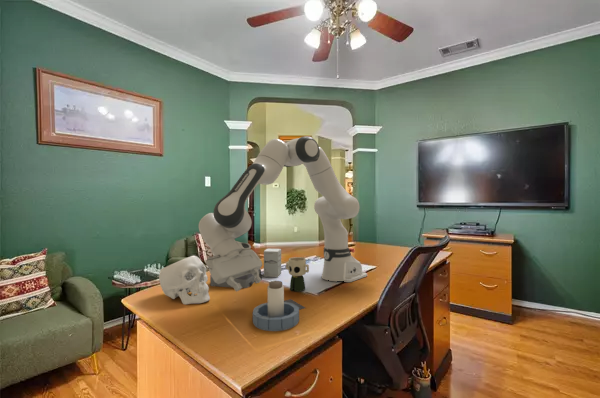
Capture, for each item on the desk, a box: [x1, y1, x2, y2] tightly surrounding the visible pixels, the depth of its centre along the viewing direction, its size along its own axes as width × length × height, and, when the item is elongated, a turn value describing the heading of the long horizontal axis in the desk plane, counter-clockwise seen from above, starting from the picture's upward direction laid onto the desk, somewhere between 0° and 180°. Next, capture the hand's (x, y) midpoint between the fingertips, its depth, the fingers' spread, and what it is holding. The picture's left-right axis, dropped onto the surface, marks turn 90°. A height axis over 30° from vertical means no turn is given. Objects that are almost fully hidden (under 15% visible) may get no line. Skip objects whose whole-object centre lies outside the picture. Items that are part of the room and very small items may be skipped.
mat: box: [284, 298, 306, 311], centre depth 99 cm, size 10×10×1 cm
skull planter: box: [158, 255, 211, 305], centre depth 109 cm, size 14×20×19 cm
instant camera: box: [209, 268, 263, 289], centre depth 131 cm, size 21×21×15 cm
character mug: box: [285, 256, 310, 292], centre depth 116 cm, size 11×7×13 cm, turn 59°
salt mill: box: [267, 280, 285, 318], centre depth 87 cm, size 5×5×11 cm
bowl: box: [252, 302, 300, 332], centre depth 87 cm, size 14×14×4 cm
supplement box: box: [263, 248, 282, 278], centre depth 139 cm, size 7×7×13 cm
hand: (249, 285), depth 93 cm, fingers open, 8 cm apart
